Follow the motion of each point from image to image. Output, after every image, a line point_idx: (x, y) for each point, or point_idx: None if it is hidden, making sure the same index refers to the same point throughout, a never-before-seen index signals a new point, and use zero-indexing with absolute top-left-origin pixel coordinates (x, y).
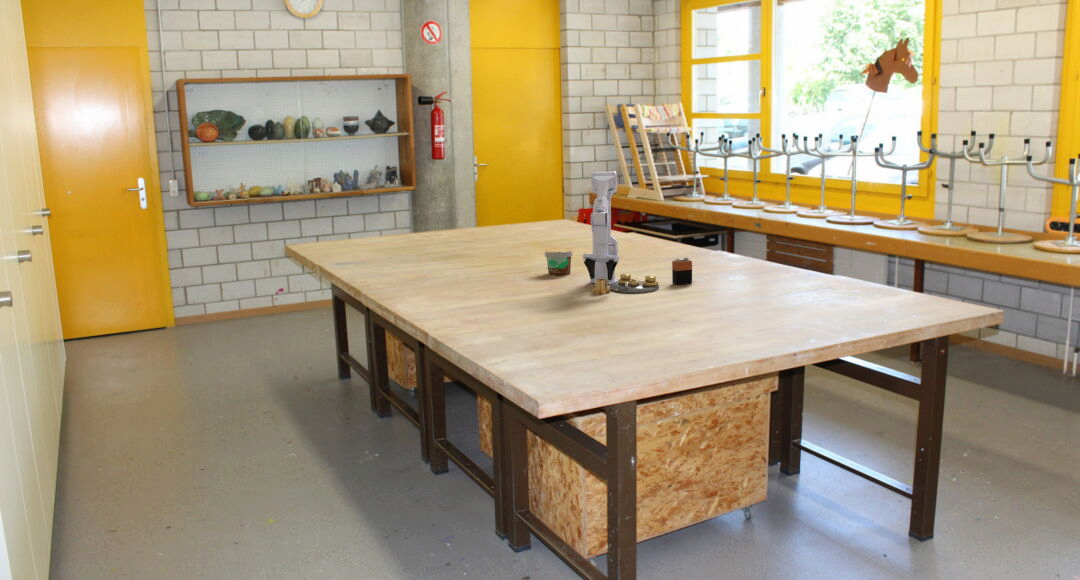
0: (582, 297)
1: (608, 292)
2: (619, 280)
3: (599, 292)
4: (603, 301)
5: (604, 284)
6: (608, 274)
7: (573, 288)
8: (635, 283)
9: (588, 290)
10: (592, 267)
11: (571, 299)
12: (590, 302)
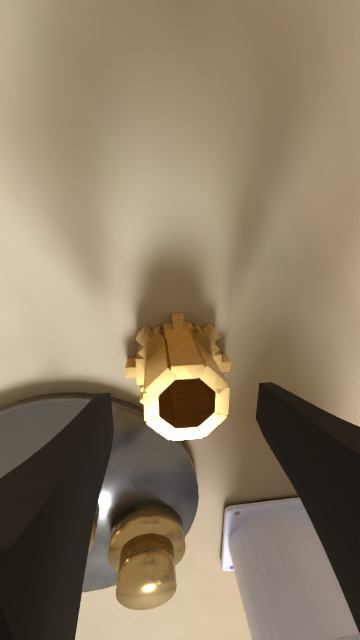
0: (212, 190)
1: (129, 360)
2: (167, 530)
3: (167, 325)
4: (5, 119)
5: (147, 373)
6: (81, 421)
7: (354, 378)
8: None
9: (265, 372)
10: (319, 482)
11: (252, 93)
12: (70, 37)
